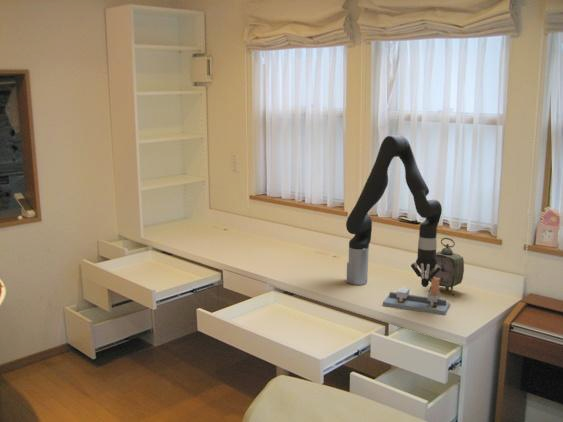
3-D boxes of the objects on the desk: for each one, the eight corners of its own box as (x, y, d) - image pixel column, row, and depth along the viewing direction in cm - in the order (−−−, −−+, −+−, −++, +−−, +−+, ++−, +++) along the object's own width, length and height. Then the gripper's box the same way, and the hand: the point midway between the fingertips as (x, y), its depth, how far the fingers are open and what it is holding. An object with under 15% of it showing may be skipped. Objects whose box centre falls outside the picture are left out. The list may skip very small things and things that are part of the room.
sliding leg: (426, 305, 259) (428, 281, 257) (430, 299, 266) (431, 276, 264) (436, 306, 257) (438, 283, 255) (439, 301, 264) (441, 278, 262)
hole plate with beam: (382, 305, 264) (383, 292, 263) (389, 296, 275) (390, 284, 274) (444, 314, 254) (445, 301, 253) (449, 305, 265) (450, 292, 264)
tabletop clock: (425, 289, 286) (428, 236, 281) (436, 285, 292) (439, 233, 287) (453, 297, 276) (457, 242, 271) (464, 292, 282) (468, 239, 277)
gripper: (409, 247, 260) (407, 287, 263) (441, 251, 254) (439, 291, 258) (413, 243, 266) (411, 282, 270) (444, 246, 261) (442, 286, 265)
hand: (424, 286), depth 264 cm, fingers closed
